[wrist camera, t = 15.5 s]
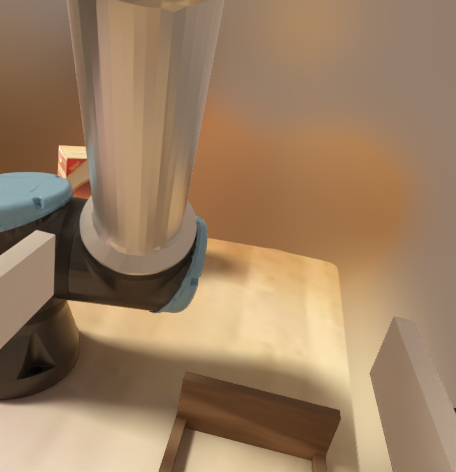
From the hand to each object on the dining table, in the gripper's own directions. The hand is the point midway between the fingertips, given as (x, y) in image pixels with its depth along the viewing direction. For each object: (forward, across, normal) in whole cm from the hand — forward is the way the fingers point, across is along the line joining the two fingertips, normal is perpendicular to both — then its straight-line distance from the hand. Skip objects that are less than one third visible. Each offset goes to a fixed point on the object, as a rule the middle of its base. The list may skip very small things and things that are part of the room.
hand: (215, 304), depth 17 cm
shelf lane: (+17, +6, -32) cm, 37 cm away
